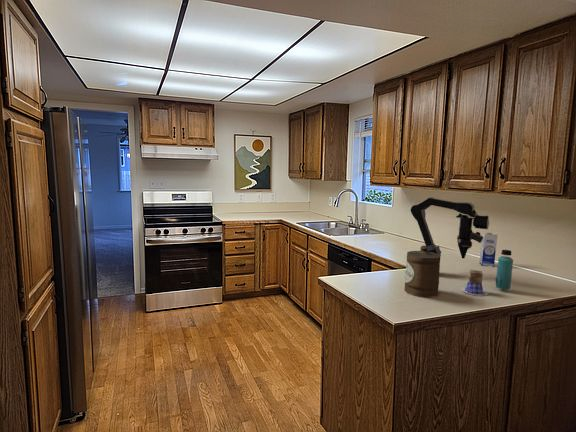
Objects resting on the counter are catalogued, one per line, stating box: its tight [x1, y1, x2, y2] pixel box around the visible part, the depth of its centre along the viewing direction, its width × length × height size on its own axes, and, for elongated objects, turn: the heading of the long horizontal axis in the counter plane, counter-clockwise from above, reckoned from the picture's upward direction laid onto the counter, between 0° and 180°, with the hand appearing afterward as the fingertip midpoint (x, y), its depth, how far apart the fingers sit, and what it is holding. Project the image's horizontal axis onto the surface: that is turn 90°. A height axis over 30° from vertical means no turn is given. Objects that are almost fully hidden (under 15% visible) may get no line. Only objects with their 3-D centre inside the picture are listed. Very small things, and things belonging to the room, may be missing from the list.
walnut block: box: [468, 269, 484, 285], centre depth 174 cm, size 5×5×5 cm
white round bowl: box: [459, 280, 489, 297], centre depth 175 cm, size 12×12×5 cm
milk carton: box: [479, 232, 498, 268], centre depth 225 cm, size 7×7×20 cm
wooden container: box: [404, 245, 441, 298], centre depth 171 cm, size 15×15×22 cm
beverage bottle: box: [494, 249, 514, 291], centre depth 177 cm, size 6×7×20 cm
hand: (462, 256), depth 192 cm, fingers open, 9 cm apart
